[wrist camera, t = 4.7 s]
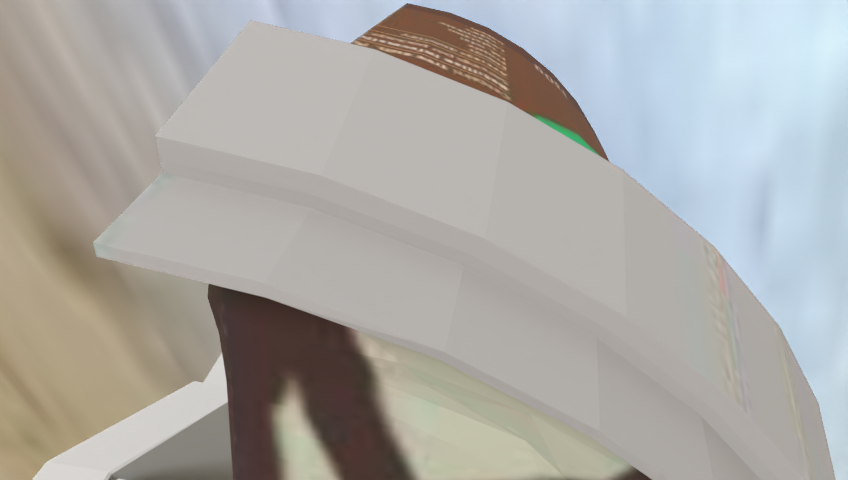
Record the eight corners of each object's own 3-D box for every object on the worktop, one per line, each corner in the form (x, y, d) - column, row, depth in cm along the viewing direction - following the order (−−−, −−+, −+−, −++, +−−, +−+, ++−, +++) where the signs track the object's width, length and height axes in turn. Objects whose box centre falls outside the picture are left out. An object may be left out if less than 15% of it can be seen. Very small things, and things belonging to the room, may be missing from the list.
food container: (587, 441, 17) (649, 999, 9) (369, 401, 18) (232, 905, 9) (769, -36, 11) (1702, 400, 2) (414, -85, 11) (68, 137, 3)
